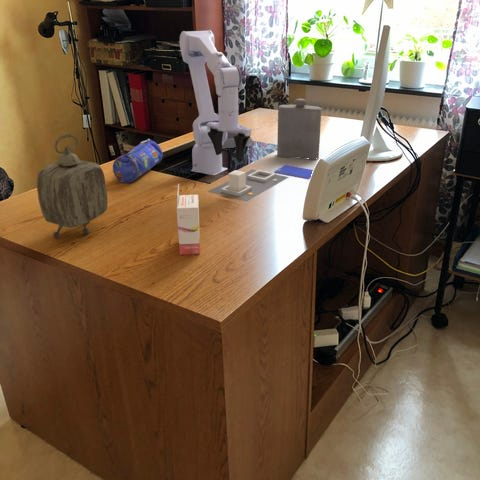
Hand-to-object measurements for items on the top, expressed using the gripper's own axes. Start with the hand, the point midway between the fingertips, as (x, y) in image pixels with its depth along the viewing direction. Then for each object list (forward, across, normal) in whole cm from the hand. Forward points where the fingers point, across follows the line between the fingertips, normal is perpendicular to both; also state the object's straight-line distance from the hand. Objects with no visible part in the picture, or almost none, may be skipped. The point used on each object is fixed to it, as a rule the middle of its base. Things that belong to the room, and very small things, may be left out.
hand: (229, 156), depth 161 cm
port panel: (+9, +5, +4) cm, 11 cm away
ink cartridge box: (+10, +16, -39) cm, 43 cm away
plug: (+9, +5, -3) cm, 11 cm away
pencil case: (+10, -32, -6) cm, 34 cm away
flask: (+10, +3, +38) cm, 39 cm away
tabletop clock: (+10, -12, -48) cm, 50 cm away
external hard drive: (+10, -27, +36) cm, 47 cm away
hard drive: (+10, +12, +21) cm, 26 cm away
